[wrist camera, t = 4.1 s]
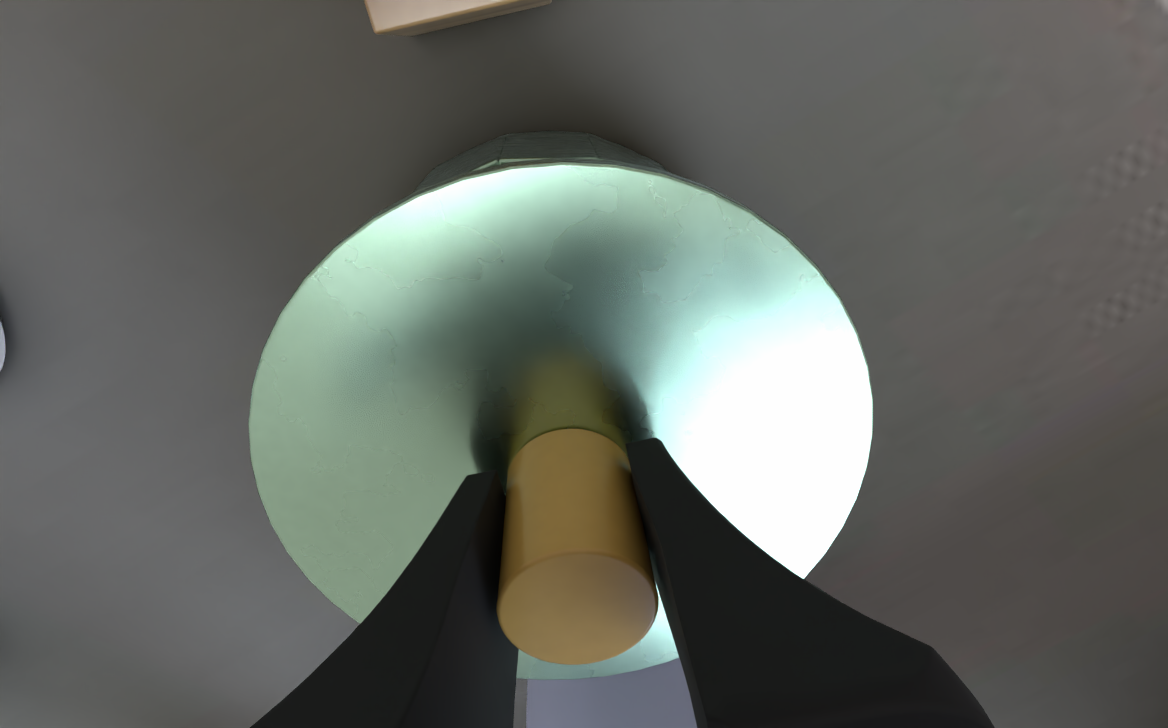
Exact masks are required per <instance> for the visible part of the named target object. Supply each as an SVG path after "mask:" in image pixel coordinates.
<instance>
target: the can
mask: <svg viewBox="0 0 1168 728" xmlns="http://www.w3.org/2000/svg"><path fill="white" fill-rule="evenodd" d="M4 359H5V334H4V328H3V324H2V320H1V317H0V371H1V369H2V366H3V363H4Z"/></svg>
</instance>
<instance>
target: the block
mask: <svg viewBox="0 0 1168 728" xmlns="http://www.w3.org/2000/svg"><path fill="white" fill-rule="evenodd" d="M551 1H552V0H364V2H365V6H366V9H367V12H368V15H369V18H370V21H371V24H372V27H373V31H374V32H375V34H379V35H397V36H415V35H420V34H424V33H428V32H433V31H437V30H441V29H445V28H450V27H454V26H458V25H462V24H467V23H471V22H475V21H480V20H484V19H488V18H492V17H497V16H501V15H505V14H509V13H514V12H518V11H522V10H526V9H531V8H535V7H539V6H544V5H548V4H550V3H551Z"/></svg>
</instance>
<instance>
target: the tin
mask: <svg viewBox="0 0 1168 728" xmlns="http://www.w3.org/2000/svg"><path fill="white" fill-rule="evenodd" d="M551 158H581V159H601V160H614V161H619V162H625V163H630V164H635V165H640V166H646V167H651V168H656V169H660V170H663V171H666V172H668V171H667V170H666V169H665V168H664V167H663V166H662V165H661V164H658V163H657V162H656V161H654V160H651V159H649V158H647V157H644V156H642V155H640V154H638V153H636V152H634V151H632V150H630V149H628V148H626V147H624V146H622V145H619V144H616V143H613V142H611V141H608V140H605V139H602V138H600V137H598V136H595V135H593V134H591V133H588V134H587V133H585V132H559V131H539V132H527V133H510V134H508V135H507V134H504V135H502V136H500V137H498V138H496V139H494V140H491V141H489V142H486V143H484V144H481V145H478V146H476V147H473V148H471V149H469V150H467V151H466V152H464V153H462V154H460V155H458V156H457V157H455V158H452V159H450V160H448V161H446V162H444V163H442V164H439V165H438V166H437V167H435V168H434V169H433V170H432V171H431V172H430V173H429V174H428V176H427V177H426V178H425V179H424V180H423V181H422V182H421V183H420V185H419V186H418V187H417V188H416V189H415V190H414V191H413V193H414V192H416V191H418V190H420V189H423V188H425V187H428V186H431V185H433V184H436V183H438V182H441V181H444V180H446V179H449V178H452V177H454V176H457V175H460V174H462V173H465V172H470V171H474V170H479V169H483V168H487V167H492V166H496V165H501V164H505V163H510V162H516V161H528V160H539V159H551Z"/></svg>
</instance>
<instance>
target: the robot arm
mask: <svg viewBox="0 0 1168 728" xmlns="http://www.w3.org/2000/svg"><path fill="white" fill-rule="evenodd" d="M625 444H626V449H627V454H628V459H629V464H630V469H631V473H632V478H633V483H634V488H635V493H636V498H637V503H638V507H639V511H640V514H641V518H642V521H643V525H644V530H645V534H646V539H647V544H648V549H649V553H650V558H651V563H652V568H653V572H654V577H655V582H656V585H657V588H658V592H659V595H660V598H661V601H662V604H663V608H664V611H665V614H666V617H667V620H668V623H669V627H670V630H671V633H672V636H673V639H674V642H675V646H676V649H677V652H678V655H679V658H678V659H675V660H672V661H670V662H666V663H663V664H659V665H656V666H652V667H648V668H645V669H641V670H637V671H632V672H627V673H621V674H616V675H611V676H605V677H595V678H585V679H575V680H534V679H528V681H527V723H526V728H994V726H993V724H992V723H991V721H990V719H989V717H988V716H987V714H986V713H985V711H984V709H983V708H982V706H981V705H980V704H979V702H978V701H977V699H976V698H975V697H974V695H973V694H972V693H971V692H970V690H969V689H968V688H967V687H966V686H965V684H964V683H963V682H962V681H961V680H960V678H959V677H958V676H957V675H956V674H955V672H954V671H953V670H952V669H951V668H950V667H949V665H948V664H947V663H946V662H945V661H944V660H943V659H942V657H941V656H940V655H939V654H938V653H937V652H936V651H935V650H934V649H933V648H932V647H931V646H929V645H927V644H924V643H922V642H920V641H918V640H916V639H914V638H911V637H909V636H907V635H905V634H903V633H901V632H899V631H896V630H894V629H892V628H890V627H888V626H886V625H884V624H881V623H879V622H877V621H875V620H873V619H871V618H869V617H867V616H865V615H863V614H861V613H859V612H858V611H856V610H854V609H852V608H850V607H849V606H847V605H845V604H843V603H841V602H840V601H838V600H836V599H835V598H833V597H832V596H830V595H828V594H827V593H825V592H824V591H822V590H821V589H819V588H817V587H816V586H814V585H813V584H811V583H809V582H808V581H806V580H805V579H803V578H802V577H800V576H798V575H797V574H795V573H794V572H792V571H791V570H790V569H788V568H787V567H785V566H784V565H783V564H781V563H780V562H779V561H777V560H776V559H774V558H773V557H772V556H770V555H769V554H768V553H767V552H765V551H764V550H763V549H761V548H760V547H759V546H758V545H756V544H755V543H754V542H753V541H751V540H750V539H749V538H748V537H747V536H746V535H744V534H743V533H742V532H741V531H740V530H739V529H738V528H736V527H735V526H734V525H733V524H732V523H731V522H730V521H729V520H728V519H727V518H726V517H725V516H724V515H722V514H721V513H720V512H719V511H718V510H717V509H716V508H715V507H714V506H713V505H712V504H711V503H710V502H709V501H708V500H707V498H706V497H705V496H704V495H703V494H702V493H701V492H700V491H699V490H698V489H697V488H696V486H695V485H694V484H693V483H692V482H691V481H690V480H689V479H688V477H687V476H686V475H685V474H684V472H683V471H682V470H681V469H680V467H679V466H678V465H677V464H676V462H675V461H674V460H673V458H672V457H671V455H670V454H669V452H668V451H667V449H666V448H665V446H664V444H663V442H662V441H661V440H659V439H658V438H656V437H655V438H650V439H645V440H640V441H635V442H630V443H625ZM504 508H505V493H504V490H503V487H502V484H501V481H500V478H499V475H498V472H497V469H496V470H491V471H486V472H481V473H476V474H471V475H467V476H466V477H465V479H464V480H463V482H462V483H461V485H460V486H459V488H458V490H457V491H456V493H455V494H454V496H453V498H452V499H451V501H450V502H449V504H448V506H447V507H446V509H445V510H444V512H443V514H442V515H441V517H440V518H439V520H438V521H437V523H436V525H435V526H434V528H433V529H432V531H431V532H430V534H429V535H428V537H427V538H426V540H425V541H424V543H423V544H422V546H421V547H420V549H419V550H418V552H417V553H416V554H415V556H414V557H413V559H412V560H411V561H410V563H409V564H408V565H407V567H406V568H405V570H404V571H403V572H402V574H401V575H400V576H399V578H398V579H397V580H396V582H395V583H394V584H393V586H392V587H391V588H390V590H389V591H388V592H387V593H386V595H385V596H384V597H383V598H382V599H381V601H380V602H379V603H378V604H377V605H376V607H375V608H374V609H373V610H372V611H371V612H370V614H369V615H368V616H367V617H366V618H365V619H364V620H363V621H362V623H361V624H360V625H359V626H358V627H357V628H356V629H355V630H354V631H353V633H352V634H351V635H350V636H349V637H348V638H347V639H346V640H345V641H344V642H343V643H342V644H341V645H340V646H339V647H338V648H337V649H336V650H335V651H334V652H333V653H332V654H331V655H330V656H329V657H328V658H327V659H326V660H325V661H324V662H323V663H322V664H321V665H320V666H319V667H318V668H317V669H316V670H315V671H314V672H313V673H312V674H311V675H310V676H309V677H308V678H306V679H305V680H304V681H303V682H302V683H301V684H300V685H299V686H298V687H297V688H295V689H294V690H293V691H292V692H291V693H290V694H289V695H288V696H286V697H285V698H284V699H283V700H282V701H281V702H280V703H279V704H277V705H276V706H275V707H274V708H273V709H271V710H270V711H269V712H268V713H267V714H266V715H264V716H263V717H262V718H261V719H260V720H258V721H257V722H256V723H255V724H254V725H252V726H251V727H250V728H513V718H514V698H515V687H516V676H517V664H518V653H519V649H518V648H517V647H516V646H515V645H514V644H512V643H511V642H510V640H509V639H508V638H507V637H506V636H505V634H504V632H503V631H502V629H501V626H500V624H499V621H498V618H497V612H496V604H497V592H498V580H499V568H500V556H501V544H502V532H503V520H504Z"/></svg>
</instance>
